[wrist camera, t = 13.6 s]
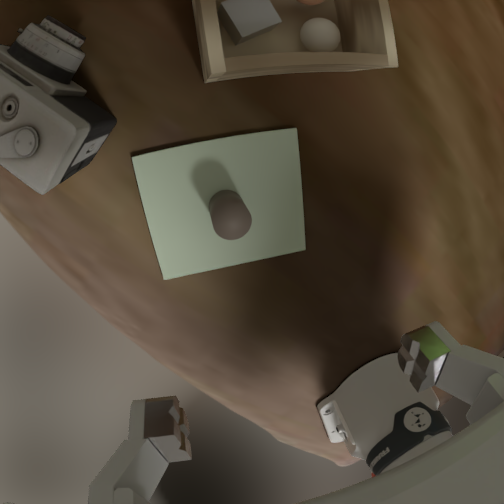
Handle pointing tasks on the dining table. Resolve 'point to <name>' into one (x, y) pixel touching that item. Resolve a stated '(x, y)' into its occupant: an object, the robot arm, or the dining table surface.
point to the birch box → (297, 40)
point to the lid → (223, 201)
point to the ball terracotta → (310, 2)
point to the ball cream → (320, 35)
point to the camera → (47, 107)
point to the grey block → (247, 18)
